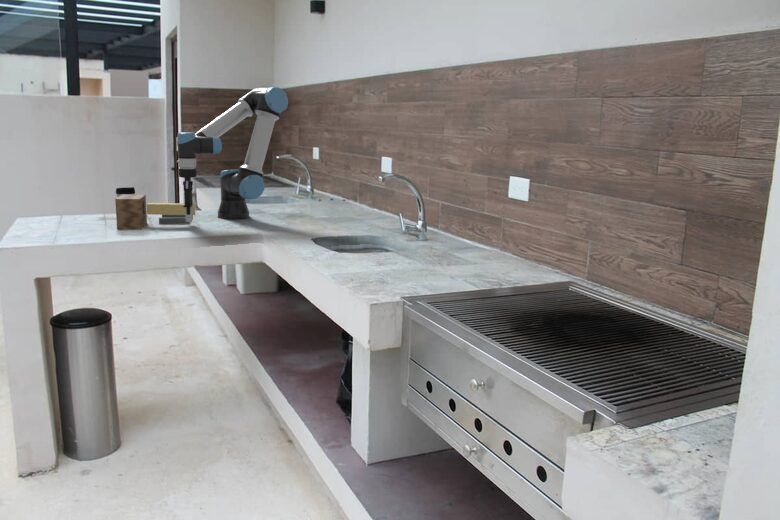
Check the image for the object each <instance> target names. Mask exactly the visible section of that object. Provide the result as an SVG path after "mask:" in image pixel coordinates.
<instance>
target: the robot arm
mask: <svg viewBox="0 0 780 520" xmlns="http://www.w3.org/2000/svg"><path fill="white" fill-rule="evenodd" d="M287 95H288V94H287V93H286V92H285V90H284V89H282V88H281V87H278V86H274V85H273V86H272V85H271V86H259V87H255V88H254V89H251V90H250V91H248V92H247V93H246V94H245V95H243V96H242V97H240V98H239V99H238V100H237V103H236V104H234V105H233V106H231V107H230V108H229V109H227V110H226V111H225V112H223V113H222V114H220V115H219V116H217V117H216V118H214V119H213V120H212V121H211V122H210V123H208V124H207V125H205V126H204V127H202V128H201V129H200V130H198V131H197V132H191V131H189V132H187V131H186V132H184V131H183V132H182V131H181V132H178V133H177V135H176V136H177V137H176V139H177V140H176V146H177V159H178V160H176V163H178V165H177V166H178V169H177V170H178V177H179V178H184V180H183V182H182V186H183V192H184V203H185V206H183V207H185V216H186V222H190V223H191V222H193V221H194V215H192V207H191V204H195V203H194V201H193V188H194V186H193V185H194V181H193V180H192V178H197V169H196V168H197V155H217V154H220V153H221V152H222V150H223V144H222V141H221V138H220V137H222V135H224V134H225V133H227V132H228V131H230V130H231V129H233V128H234V127H235V126H237V125H238V124H239V123H240V122H242V121H243V120H244V119H246V118H247V117H253V116H254V115H255V114H256V118H255V119H256V120H255V123H254V127H253V131H252V134H251V136H250V137H251V138H250V141H249V145H248V149H247V151H246V156H245V159H244V163H243V164H242V165H240V166H239V168H238V169H226V170H222V171H220V177H219V179H220V204H219V207H218V210H217V217H218V218H219V219H225V220H227V219H229V220H239V219H247V218H249V217H250V210H249V208H248V204H247V201H246V200H255V199H258V198H259V197H261V196H262V195H263V193H264V191H265V187H266V184H265V181H264V175H265V174H264V172H263V166H264V163H265V159H266V155H267V152H268V148H269V145H270V142H271V137H272V134H273V131H274V126H275V123H276V122H277V121H278V120H279V119H280V118H281V114H282V113H283V112H284V111H286V110H287V108H288V105H289V98H288V96H287Z"/></svg>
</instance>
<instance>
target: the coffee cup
mask: <svg viewBox="0 0 780 520" xmlns="http://www.w3.org/2000/svg"><path fill="white" fill-rule="evenodd" d="M115 194H116V198H117V197H119V196H120V195H122V194H135V195H136V190H135V186H134V187H133V186H132V187H131V186H129V187H128V186H127V187H117V188H116V189H115Z"/></svg>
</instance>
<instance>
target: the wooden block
mask: <svg viewBox="0 0 780 520" xmlns="http://www.w3.org/2000/svg"><path fill="white" fill-rule="evenodd" d="M146 195H147V194H136V193H135V194H122V195H120V196H119V197H117V196H116V198H115V200H114V201H115V216H116V217H115V218H116V219H115V220H116V230H143V229H144V227H146V226H147V224H148V219H147V215H148V214H147V199H146V198H147V196H146Z"/></svg>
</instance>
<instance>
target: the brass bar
mask: <svg viewBox="0 0 780 520" xmlns="http://www.w3.org/2000/svg"><path fill="white" fill-rule="evenodd" d="M183 206H185V202H184V203H180V202H179V203H178V202H177V203H175V202H148V203H146V213H147V215H152V216H153V215H157V216H158V215H161V216H162V215H185V207H183ZM191 207H192V215H193V216H196V214H197V213H196V203H194V204H191Z"/></svg>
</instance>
